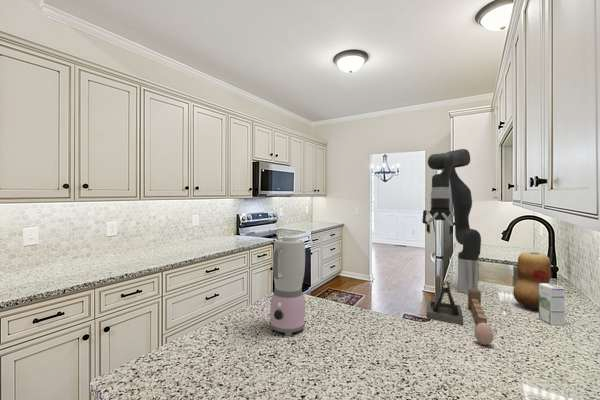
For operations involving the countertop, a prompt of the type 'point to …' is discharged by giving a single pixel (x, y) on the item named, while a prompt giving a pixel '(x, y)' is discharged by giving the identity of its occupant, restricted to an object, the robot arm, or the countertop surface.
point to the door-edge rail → (476, 306)
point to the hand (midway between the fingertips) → (439, 233)
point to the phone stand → (439, 299)
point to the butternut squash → (531, 278)
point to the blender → (288, 286)
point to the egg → (483, 333)
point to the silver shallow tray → (444, 316)
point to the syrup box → (552, 304)
